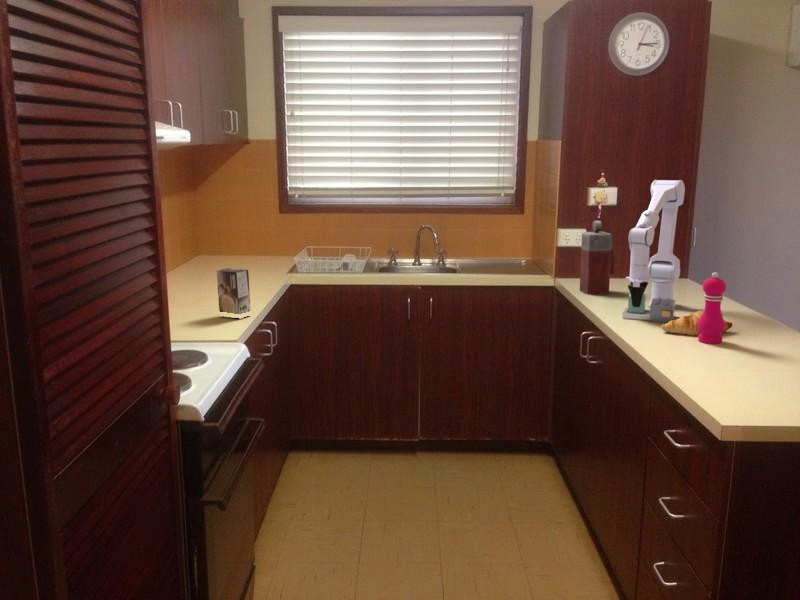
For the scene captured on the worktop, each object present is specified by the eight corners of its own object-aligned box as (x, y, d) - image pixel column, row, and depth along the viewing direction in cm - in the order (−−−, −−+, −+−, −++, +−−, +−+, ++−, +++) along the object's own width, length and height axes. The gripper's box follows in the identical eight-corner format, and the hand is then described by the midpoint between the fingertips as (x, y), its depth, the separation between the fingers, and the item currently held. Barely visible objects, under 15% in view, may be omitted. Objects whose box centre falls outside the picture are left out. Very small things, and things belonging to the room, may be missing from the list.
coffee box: (252, 316, 241) (249, 269, 237) (239, 320, 235) (237, 272, 232) (231, 313, 245) (228, 267, 242) (218, 317, 239) (215, 270, 236)
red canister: (615, 294, 274) (618, 221, 268) (586, 294, 273) (589, 221, 267) (606, 289, 282) (610, 219, 277) (579, 290, 282) (582, 219, 276)
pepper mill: (700, 337, 207) (705, 269, 203) (726, 340, 203) (732, 271, 199) (692, 342, 202) (698, 272, 198) (719, 346, 197) (725, 275, 193)
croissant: (664, 346, 211) (670, 326, 206) (653, 324, 218) (659, 304, 213) (734, 343, 211) (742, 323, 206) (721, 321, 219) (728, 301, 214)
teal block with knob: (644, 310, 235) (645, 293, 234) (644, 313, 231) (644, 296, 230) (629, 309, 237) (629, 292, 236) (628, 312, 233) (628, 295, 232)
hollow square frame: (625, 312, 241) (626, 294, 240) (674, 315, 235) (675, 297, 234) (621, 319, 230) (622, 301, 229) (672, 323, 224) (673, 304, 223)
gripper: (628, 260, 239) (626, 300, 242) (624, 266, 226) (621, 308, 229) (651, 261, 236) (648, 301, 239) (647, 267, 223) (644, 310, 226)
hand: (637, 305), depth 234 cm, fingers closed on teal block with knob, 5 cm apart
